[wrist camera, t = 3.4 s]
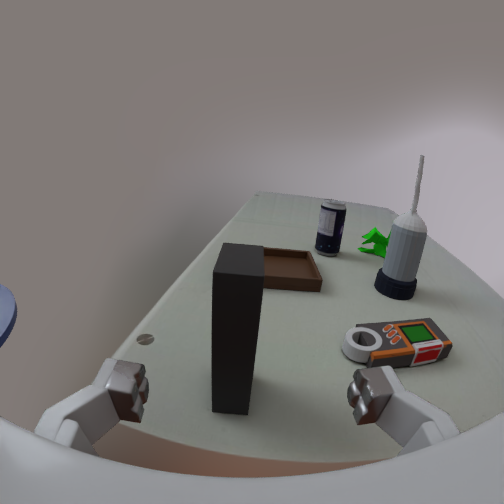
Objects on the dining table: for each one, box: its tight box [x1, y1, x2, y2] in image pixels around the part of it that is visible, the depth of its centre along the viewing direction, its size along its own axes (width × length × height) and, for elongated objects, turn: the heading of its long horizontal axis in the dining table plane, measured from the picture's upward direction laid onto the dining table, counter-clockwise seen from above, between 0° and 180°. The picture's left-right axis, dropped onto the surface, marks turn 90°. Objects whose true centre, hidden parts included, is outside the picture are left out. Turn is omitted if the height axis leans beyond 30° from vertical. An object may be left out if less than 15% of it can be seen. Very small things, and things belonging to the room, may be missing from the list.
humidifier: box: [374, 155, 427, 300], centre depth 44 cm, size 8×8×25 cm
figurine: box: [357, 221, 394, 258], centre depth 65 cm, size 6×12×9 cm, turn 69°
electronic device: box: [342, 318, 452, 368], centre depth 31 cm, size 7×3×15 cm
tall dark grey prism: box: [212, 243, 265, 415], centre depth 23 cm, size 3×6×14 cm, turn 178°
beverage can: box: [315, 199, 346, 256], centre depth 62 cm, size 6×6×12 cm
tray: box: [263, 247, 322, 292], centre depth 52 cm, size 17×13×2 cm
